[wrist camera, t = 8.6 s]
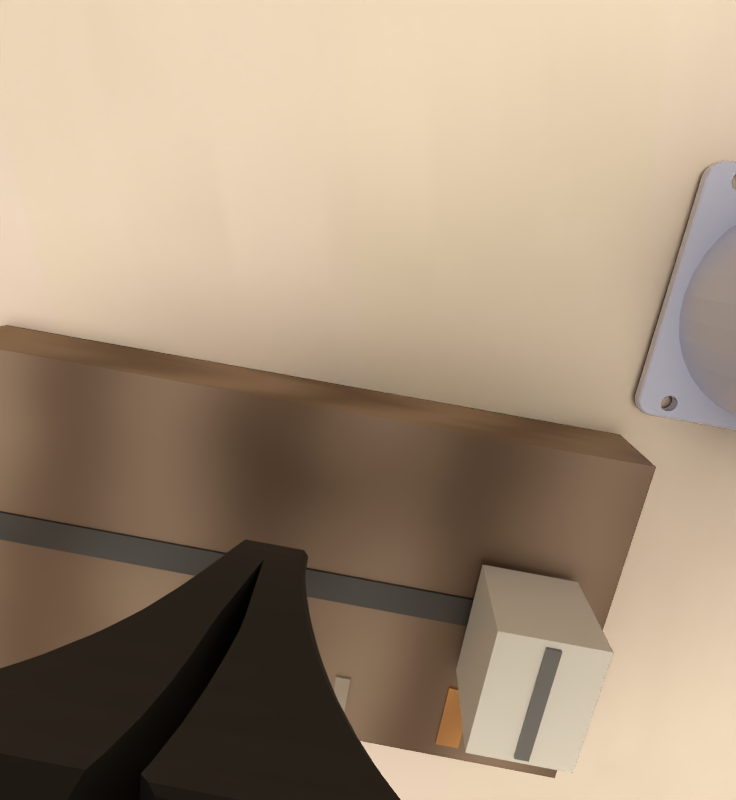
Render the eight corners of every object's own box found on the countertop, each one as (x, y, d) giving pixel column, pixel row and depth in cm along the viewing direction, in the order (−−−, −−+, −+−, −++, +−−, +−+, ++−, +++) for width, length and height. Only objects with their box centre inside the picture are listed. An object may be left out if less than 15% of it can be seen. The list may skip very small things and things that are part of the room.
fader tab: (577, 581, 18) (614, 655, 15) (546, 686, 19) (573, 776, 16) (482, 564, 18) (498, 633, 15) (456, 670, 19) (465, 755, 16)
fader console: (620, 434, 20) (657, 468, 17) (536, 711, 23) (555, 781, 20) (6, 325, 20) (-63, 339, 17) (7, 611, 24) (-51, 665, 21)
